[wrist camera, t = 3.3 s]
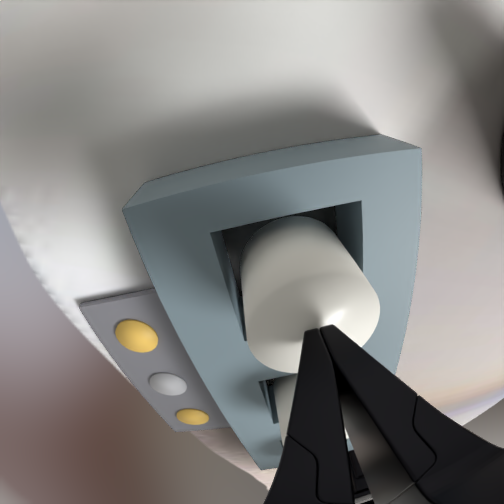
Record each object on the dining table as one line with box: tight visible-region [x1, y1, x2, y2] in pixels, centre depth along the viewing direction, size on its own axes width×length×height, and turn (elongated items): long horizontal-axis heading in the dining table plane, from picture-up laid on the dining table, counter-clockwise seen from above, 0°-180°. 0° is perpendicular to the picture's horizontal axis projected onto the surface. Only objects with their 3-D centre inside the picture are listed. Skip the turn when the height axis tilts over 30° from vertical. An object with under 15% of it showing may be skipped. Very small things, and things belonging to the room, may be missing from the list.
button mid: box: [273, 373, 349, 446], centre depth 14 cm, size 4×4×4 cm
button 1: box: [240, 216, 380, 373], centre depth 10 cm, size 4×4×4 cm
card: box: [79, 288, 231, 432], centre depth 17 cm, size 14×5×1 cm, turn 12°
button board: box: [122, 134, 422, 470], centre depth 16 cm, size 24×10×3 cm, turn 12°
